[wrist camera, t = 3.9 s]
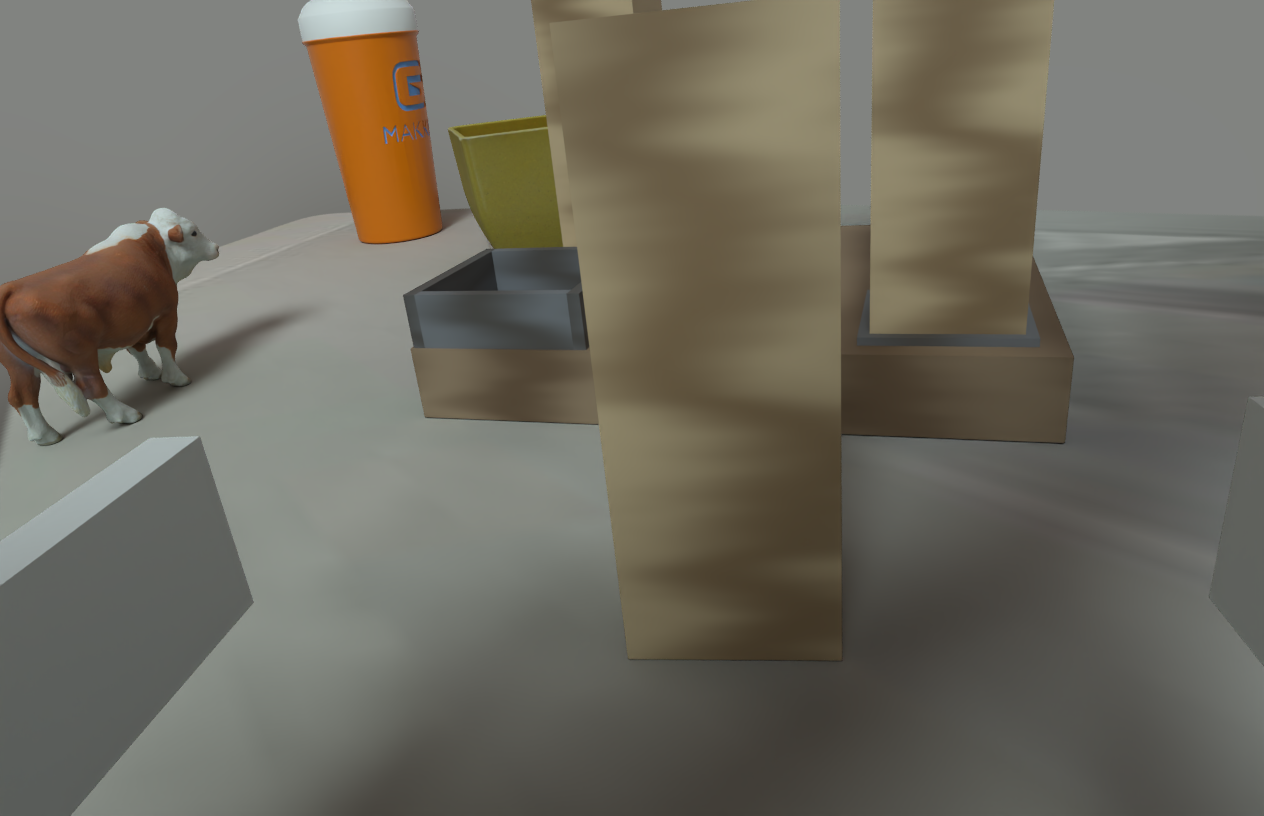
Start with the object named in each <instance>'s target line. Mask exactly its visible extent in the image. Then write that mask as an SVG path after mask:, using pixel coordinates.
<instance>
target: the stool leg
mask: <svg viewBox="0 0 1264 816" xmlns="http://www.w3.org/2000/svg"><path fill="white" fill-rule="evenodd" d="M549 24H550V32H551V40H552V48H553V56H554V64H555V73H556V81H557V89H558V97H559V105H560V113H561V121H562V129H563V137H564V145H565V153H566V161H567V169H568V178H569V186H570V194H571V202H572V210H573V218H574V226H575V234H576V242H577V250H578V258H579V266H580V274H581V283H582V291H583V299H584V307H585V315H586V323H587V331H588V339H589V347H590V355H591V363H592V371H593V379H594V388H595V396H596V404H597V412H598V420H599V428H600V436H601V444H602V452H603V460H604V468H605V476H606V484H607V493H608V501H609V509H610V517H611V525H612V533H613V541H614V549H615V557H616V565H617V573H618V581H619V589H620V598H621V606H622V614H623V622H624V630H625V638H626V646H627V654H628V659H682V660H827V661H842V516H841V230H840V0H753V1H744V2H735V3H725V4H716V5H708V6H698V7H689V8H680V9H671V10H662V11H653V12H644V13H635V14H626V15H617V16H608V17H599V18H590V19H581V20H572V21H562V22H553V23H549Z"/></svg>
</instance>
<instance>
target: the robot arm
mask: <svg viewBox="0 0 1264 816" xmlns="http://www.w3.org/2000/svg"><path fill="white" fill-rule="evenodd" d="M1209 598H1210V599H1211V600H1212V602H1213V603H1214V604H1215V606H1216V607H1217V608H1218V609H1219V611H1220V612H1221V613H1222V614H1223V616H1224V617H1225V618H1226V619H1227V621H1228V622H1229V623H1230V624H1231V626H1232V627H1233V628H1234V629H1235V631H1236V632H1237V633H1238V634H1239V636H1240V637H1241V638H1242V639H1243V641H1244V642H1245V643H1246V644H1247V646H1248V647H1249V648H1250V650H1251V651H1252V652H1253V653H1254V655H1255V656H1256V657H1257V658H1258V660H1259V661H1260V662H1261V663H1262V665H1263V666H1264V396H1254V397H1248V401H1247V406H1246V411H1245V416H1244V421H1243V426H1242V431H1241V437H1240V442H1239V447H1238V452H1237V457H1236V462H1235V467H1234V472H1233V477H1232V482H1231V487H1230V492H1229V498H1228V503H1227V508H1226V513H1225V518H1224V523H1223V528H1222V533H1221V538H1220V543H1219V548H1218V554H1217V559H1216V564H1215V569H1214V574H1213V579H1212V584H1211V589H1210V594H1209ZM253 603H254V601H253V598H252V595H251V592H250V589H249V586H248V583H247V580H246V577H245V574H244V571H243V568H242V564H241V561H240V558H239V555H238V552H237V549H236V546H235V543H234V540H233V537H232V534H231V531H230V528H229V524H228V521H227V518H226V515H225V512H224V509H223V506H222V503H221V500H220V497H219V494H218V491H217V487H216V484H215V481H214V478H213V475H212V472H211V469H210V466H209V463H208V460H207V457H206V454H205V450H204V447H203V444H202V441H201V438H200V436H193V437H166V438H149V439H148V440H146V441H145V442H143V443H142V444H140V445H139V446H137V447H136V448H135V449H133V450H132V451H130V452H129V453H127V454H126V455H124V456H123V457H121V458H120V459H119V460H117V461H116V462H114V463H113V464H111V465H110V466H108V467H107V468H106V469H104V470H103V471H101V472H100V473H98V474H97V475H95V476H94V477H92V478H91V479H90V480H88V481H87V482H85V483H84V484H82V485H81V486H79V487H78V488H77V489H75V490H74V491H72V492H71V493H69V494H68V495H66V496H65V497H63V498H62V499H61V500H59V501H58V502H56V503H55V504H53V505H52V506H50V507H49V508H48V509H46V510H45V511H43V512H42V513H40V514H39V515H37V516H36V517H34V518H33V519H32V520H30V521H29V522H27V523H26V524H24V525H23V526H21V527H20V528H19V529H17V530H16V531H14V532H13V533H11V534H10V535H8V536H7V537H5V538H4V539H3V540H1V541H0V816H71V814H72V813H73V812H74V811H75V810H76V809H77V807H78V806H79V805H80V804H81V803H82V802H83V800H84V799H85V798H86V797H87V796H88V795H89V793H90V792H91V791H92V790H93V789H94V788H95V786H96V785H97V784H98V783H99V782H100V781H101V779H102V778H103V777H104V776H105V775H106V774H107V772H108V771H109V770H110V769H111V768H112V767H113V766H114V764H115V763H116V762H117V761H118V760H119V759H120V757H121V756H122V755H123V754H124V753H125V752H126V750H127V749H128V748H129V747H130V746H131V745H132V743H133V742H134V741H135V740H136V739H137V738H138V736H139V735H140V734H141V733H142V732H143V731H144V729H145V728H146V727H147V726H148V725H149V724H150V722H151V721H152V720H153V719H154V718H155V717H156V715H157V714H158V713H159V712H160V711H161V710H162V709H163V707H164V706H165V705H166V704H167V703H168V702H169V700H170V699H171V698H172V697H173V696H174V695H175V693H176V692H177V691H178V690H179V689H180V688H181V686H182V685H183V684H184V683H185V682H186V681H187V679H188V678H189V677H190V676H191V675H192V674H193V672H194V671H195V670H196V669H197V668H198V667H199V665H200V664H201V663H202V662H203V661H204V660H205V658H206V657H207V656H208V655H209V654H210V653H211V652H212V650H213V649H214V648H215V647H216V646H217V645H218V643H219V642H220V641H221V640H222V639H223V638H224V636H225V635H226V634H227V633H228V632H229V631H230V629H231V628H232V627H233V626H234V625H235V624H236V622H237V621H238V620H239V619H240V618H241V617H242V615H243V614H244V613H245V612H246V611H247V610H248V608H249V607H250V606H251V605H252V604H253Z"/></svg>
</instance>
